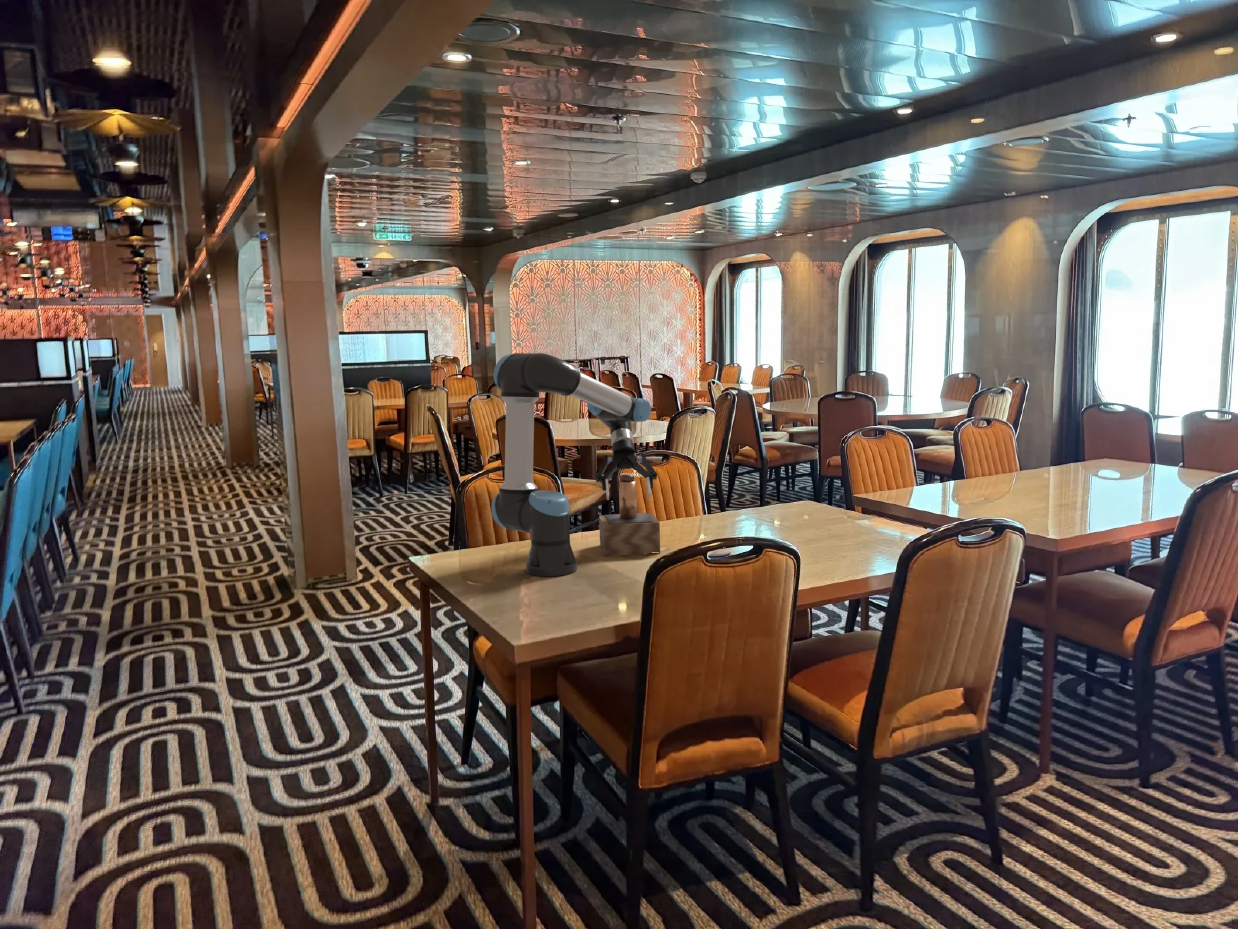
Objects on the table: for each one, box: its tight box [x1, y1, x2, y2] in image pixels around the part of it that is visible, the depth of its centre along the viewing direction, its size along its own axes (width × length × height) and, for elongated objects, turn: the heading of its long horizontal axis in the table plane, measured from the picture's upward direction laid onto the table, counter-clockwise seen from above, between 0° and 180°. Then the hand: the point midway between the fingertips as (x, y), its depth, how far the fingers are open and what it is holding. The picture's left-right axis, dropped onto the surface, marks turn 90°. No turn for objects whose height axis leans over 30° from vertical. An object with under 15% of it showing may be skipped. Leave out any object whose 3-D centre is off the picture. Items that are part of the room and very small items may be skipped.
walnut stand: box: [598, 512, 661, 557], centre depth 284 cm, size 18×16×10 cm
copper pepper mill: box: [618, 473, 638, 519], centre depth 282 cm, size 6×6×14 cm
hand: (629, 496), depth 281 cm, fingers open, 13 cm apart
